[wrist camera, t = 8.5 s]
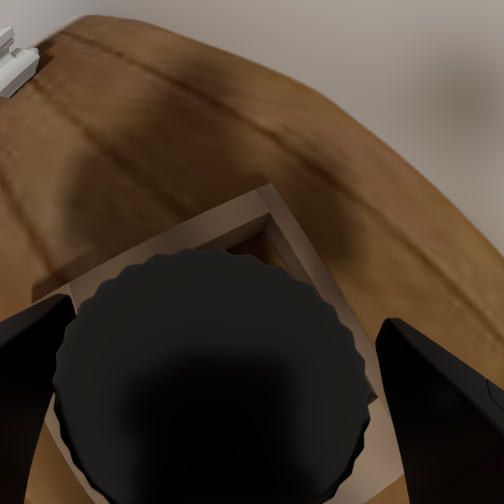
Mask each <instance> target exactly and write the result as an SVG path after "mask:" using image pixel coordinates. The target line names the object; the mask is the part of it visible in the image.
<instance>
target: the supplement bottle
mask: <svg viewBox="0 0 504 504" xmlns="http://www.w3.org/2000/svg"><path fill="white" fill-rule="evenodd" d="M52 385H53V390H54V393H55V400H54V408H53V410H54V413H55V415H56V417H57V419H58V421H59V424H60V437H61V439H62V440H63V442H64V444H65V445H66V446H67V448H68V449H69V451H70V455H71V458H72V461H73V464H74V465H75V466H76V467H77V468H78V469H79V470H80V471H81V472H82V473H83V474H84V476H85V478H86V480H87V482H88V483H89V485H90V487H91V488H92V489H94V490H95V491H96V492H98V493H99V494H101V495H102V496H103V497H104V498H105V499H106V500H107V502H108V503H109V504H324V503H325V502H328V501H329V500H331V499H332V498H334V496H335V494H336V492H337V490H338V488H339V486H340V485H341V484H342V483H343V482H344V481H345V480H346V479H347V478H349V477H350V476H351V475H352V471H353V468H354V462H355V460H356V459H357V458H358V456H359V455H360V454H361V452H362V451H363V449H364V442H365V441H364V434H365V431H366V429H367V428H368V426H369V423H370V421H371V418H370V413H369V409H368V402H369V399H370V394H371V388H370V386H369V384H368V382H367V380H366V378H365V360H364V358H363V357H362V355H361V354H360V353H359V352H358V351H357V350H356V347H355V340H354V336H353V332H352V331H351V330H350V329H349V328H347V327H346V326H345V325H343V324H342V323H341V322H340V320H339V318H338V314H337V312H336V310H335V307H334V306H333V305H331V304H329V303H328V302H326V301H323V300H321V299H320V298H319V297H318V295H317V293H316V292H315V290H314V289H313V287H312V286H311V285H310V284H308V283H305V282H303V281H299V280H295V279H293V278H292V277H291V276H290V274H289V273H288V272H287V271H286V270H285V269H284V268H283V267H281V266H275V265H265V264H264V263H262V262H261V261H260V260H259V259H258V258H256V257H255V256H253V255H252V254H242V255H232V254H230V253H229V252H227V251H225V250H223V249H221V248H215V249H210V250H207V251H204V252H201V251H198V250H195V249H190V248H185V249H182V250H180V251H178V252H176V253H175V254H172V255H166V254H155V255H153V256H152V257H150V258H148V259H147V260H146V261H145V262H144V263H142V264H133V265H128V266H126V267H125V268H124V269H123V270H122V271H121V272H120V273H119V275H118V276H117V277H116V278H112V279H109V280H106V281H104V282H102V283H101V284H100V285H99V287H98V288H97V290H96V292H95V293H94V295H93V296H92V297H90V298H88V299H86V300H85V301H83V302H82V303H81V305H80V307H79V309H78V313H77V315H76V318H75V319H73V320H72V321H71V322H70V323H69V324H68V325H67V326H66V328H65V333H64V340H63V343H62V345H61V346H60V347H59V349H58V351H57V352H56V371H55V373H54V376H53V379H52Z"/></svg>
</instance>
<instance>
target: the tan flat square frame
mask: <svg viewBox="0 0 504 504" xmlns="http://www.w3.org/2000/svg"><path fill="white" fill-rule="evenodd" d="M263 231H264V232H265V234H266V235H267V237H268V239H269V240H270V242H271V243H272V245H273V247H274V248H275V250H276V252H277V253H278V255H279V257H280V258H281V260H282V262H283V263H284V265H285V267H286V268H287V270H288V272H289V273H290V275H291V277H292V278H293V279H295V280H299V281H303V282H305V283H308V284H310V285H311V286H312V287H313V289H314V290H315V292H316V293H317V295H318V297H319V298H320V299H321V300H323V301H326V302H328V303H329V304H331V305H333V306H334V307H335V310H336V312H337V314H338V318H339V320H340V322H341V323H342V324H343V325H345V326H346V327H347V328H349V329H350V330H351V331H352V332H353V336H354V340H355V347H356V350H357V351H358V352H359V353H360V354H361V355H362V357H363V358H364V360H365V378H366V380H367V382H368V384H369V386H370V388H371V394H370V399H369V402H368V409H369V413H370V418H371V421H370V423H369V426H368V428H367V429H366V431H365V434H364V441H365V442H364V449H363V451H362V452H361V454H360V455H359V456H358V458H357V459H356V460H355V462H354V468H353V471H352V475H351V476H350V477H349V478H347V479H346V480H345V481H344V482H343V483H342V484H341V485H340V486H339V488H338V490H337V492H336V494H335V496H334V498H332V499H331V500H329V501H328V502H325V503H324V504H363V503H365V502H366V501H368V500H369V499H371V498H372V497H373V496H375V495H376V494H378V493H379V492H380V491H382V490H383V489H385V488H386V487H387V486H389V485H390V484H391V483H392V482H394V481H395V480H396V479H398V478H399V477H400V476H401V475H403V474H404V470H403V465H402V461H401V456H400V452H399V447H398V443H397V439H396V435H395V431H394V427H393V423H392V419H391V415H390V412H389V408H388V404H387V401H386V397H385V393H384V389H383V384H382V379H381V373H380V368H379V362H378V357H377V355H376V353H375V351H374V349H373V347H372V345H371V344H370V342H369V340H368V338H367V336H366V335H365V333H364V331H363V329H362V328H361V326H360V324H359V322H358V320H357V319H356V317H355V315H354V314H353V312H352V310H351V308H350V307H349V305H348V303H347V301H346V300H345V298H344V296H343V295H342V293H341V291H340V290H339V288H338V286H337V285H336V283H335V281H334V280H333V278H332V276H331V275H330V273H329V271H328V270H327V268H326V266H325V265H324V263H323V262H322V260H321V258H320V257H319V255H318V253H317V252H316V250H315V249H314V247H313V245H312V244H311V242H310V241H309V239H308V238H307V236H306V234H305V233H304V231H303V230H302V228H301V227H300V225H299V223H298V222H297V220H296V219H295V217H294V216H293V214H292V213H291V211H290V210H289V208H288V207H287V205H286V204H285V202H284V201H283V199H282V198H281V196H280V195H279V193H278V192H277V190H276V189H275V187H274V186H273V184H272V183H268V184H266V185H264V186H261V187H259V188H257V189H255V190H252V191H250V192H248V193H245V194H243V195H241V196H239V197H236V198H234V199H232V200H230V201H228V202H225V203H223V204H221V205H219V206H217V207H215V208H212V209H210V210H208V211H206V212H204V213H202V214H200V215H197V216H195V217H193V218H191V219H189V220H187V221H185V222H183V223H181V224H179V225H177V226H175V227H173V228H171V229H168V230H166V231H164V232H162V233H160V234H158V235H156V236H154V237H152V238H150V239H148V240H147V241H145V242H143V243H141V244H139V245H137V246H135V247H133V248H131V249H129V250H127V251H125V252H123V253H121V254H120V255H118V256H116V257H114V258H112V259H110V260H108V261H106V262H105V263H103V264H101V265H99V266H97V267H95V268H94V269H92V270H90V271H88V272H86V273H85V274H83V275H81V276H79V277H77V278H76V279H74V280H72V281H70V282H69V283H67V284H65V285H63V286H62V287H60V288H58V289H56V290H55V291H53V292H51V293H50V294H48V295H46V296H45V297H43V298H41V299H40V300H38V301H36V302H35V303H33V304H31V305H30V306H28V307H26V308H25V309H27V308H29V307H31V306H33V305H35V304H37V303H39V302H41V301H43V300H45V299H47V298H49V297H51V296H53V295H55V294H57V293H61V294H67V295H69V296H70V297H71V299H72V302H73V306H74V309H75V313H76V315H77V313H78V309H79V307H80V305H81V303H82V302H83V301H85V300H86V299H88V298H90V297H92V296H93V295H94V293H95V292H96V290H97V288H98V287H99V285H100V284H101V283H102V282H104V281H106V280H109V279H112V278H116V277H117V276H118V275H119V273H120V272H121V271H122V270H123V269H124V268H125V267H126V266H128V265H133V264H142V263H144V262H145V261H146V260H147V259H148V258H150V257H152V256H153V255H155V254H166V255H172V254H175V253H176V252H178V251H180V250H182V249H185V248H190V249H195V250H198V251H201V252H204V251H207V250H210V249H215V248H221V249H223V250H227V249H229V248H231V247H233V246H235V245H237V244H239V243H241V242H243V241H245V240H247V239H249V238H251V237H253V236H255V235H257V234H259V233H261V232H263ZM25 309H23V310H25ZM23 310H22V311H23ZM20 312H21V311H20ZM18 313H19V312H18ZM54 400H55V393H53V396H52V399H51V402H50V404H49V407H48V410H47V413H46V416H45V419H44V421H45V423H46V425H47V427H48V429H49V431H50V433H51V435H52V436H53V438H54V440H55V442H56V444H57V446H58V448H59V449H60V451H61V453H62V455H63V456H64V458H65V460H66V461H67V463H68V465H69V466H70V468H71V469H72V471H73V473H74V474H75V476H76V477H77V479H78V480H79V482H80V483H81V485H82V486H83V488H84V489H85V490H86V492H87V493H88V495H89V496H90V497H91V499H92V500H93V501H94V503H95V504H109V503H108V502H107V500H106V499H105V498H104V497H103V496H102V495H101V494H99V493H98V492H96V491H95V490H94V489H92V488H91V487H90V485H89V483H88V482H87V480H86V478H85V476H84V474H83V473H82V472H81V471H80V470H79V469H78V468H77V467H76V466H75V465H74V464H73V461H72V458H71V455H70V451H69V449H68V448H67V446H66V445H65V444H64V442H63V440H62V439H61V437H60V424H59V421H58V419H57V417H56V415H55V413H54V410H53V408H54Z"/></svg>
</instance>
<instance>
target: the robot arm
mask: <svg viewBox="0 0 504 504" xmlns="http://www.w3.org/2000/svg"><path fill="white" fill-rule="evenodd" d="M75 318H76V313H75V309H74V306H73V302H72V299H71V297H70V296H69V295H67V294H61V293H57V294H55V295H53V296H51V297H49V298H47V299H45V300H43V301H41V302H39V303H37V304H35V305H33V306H31V307H29V308H27V309H25V310H23V311H21V312H19V313H17V314H15V315H13V316H11V317H9V318H8V319H6V320H4V321H2V322H0V504H24V499H25V493H26V488H27V483H28V482H27V481H28V478H29V473H30V469H31V465H32V461H33V457H34V453H35V449H36V446H37V442H38V439H39V435H40V432H41V429H42V426H43V422H44V419H45V416H46V413H47V410H48V407H49V404H50V402H51V399H52V396H53V393H54V390H53V385H52V379H53V376H54V373H55V371H56V352H57V351H58V349H59V347H60V346H61V345H62V343H63V340H64V333H65V328H66V326H67V325H68V324H69V323H70V322H71V321H72V320H73V319H75ZM375 347H376V352H377V357H378V362H379V368H380V373H381V379H382V384H383V389H384V393H385V397H386V401H387V404H388V408H389V412H390V415H391V419H392V423H393V427H394V431H395V435H396V439H397V443H398V447H399V452H400V456H401V461H402V465H403V470H404V475H405V480H406V485H407V491H408V496H409V502H410V504H504V390H503V389H501V388H500V387H498V386H497V385H495V384H494V383H493V382H491V381H490V380H488V379H485V377H484V376H483V375H481V374H480V373H478V372H477V371H476V370H474V369H473V368H471V367H470V366H468V365H467V364H466V363H464V362H463V361H461V360H460V359H458V358H457V357H456V356H454V355H453V354H451V353H450V352H448V351H447V350H445V349H444V348H443V347H441V346H440V345H438V344H437V343H435V342H434V341H432V340H431V339H429V338H428V337H427V336H425V335H424V334H422V333H421V332H419V331H418V330H416V329H415V328H413V327H412V326H410V325H409V324H407V323H406V322H404V321H403V320H401V319H400V318H387V319H385V320H384V322H383V324H382V327H381V329H380V331H379V334H378V336H377V338H376V342H375Z"/></svg>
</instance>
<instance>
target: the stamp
mask: <svg viewBox="0 0 504 504" xmlns="http://www.w3.org/2000/svg"><path fill="white" fill-rule="evenodd" d="M14 35H15V34H14V31H13V27H9V28H3V29H1V30H0V97H5V98H9V97H10V96H11V95H13V94H14V93H15V92H16V91H17V90H18V89H19V88H20V87H21V86H22V85H23V84H24V83H25V82H26V81H27V80H29V79H30V78H31V77H32V76H33V75H34V74H35V71H36V68H37V65H38V62H39V58H40V56H39V55H38V53H39V51H38V49H37V48H32V49H30V50H25V49H19V48H16V49H15V50H14V51H12V52H11V53H9V46H11V45H12V44H13V42H14V38H13V36H14Z"/></svg>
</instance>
